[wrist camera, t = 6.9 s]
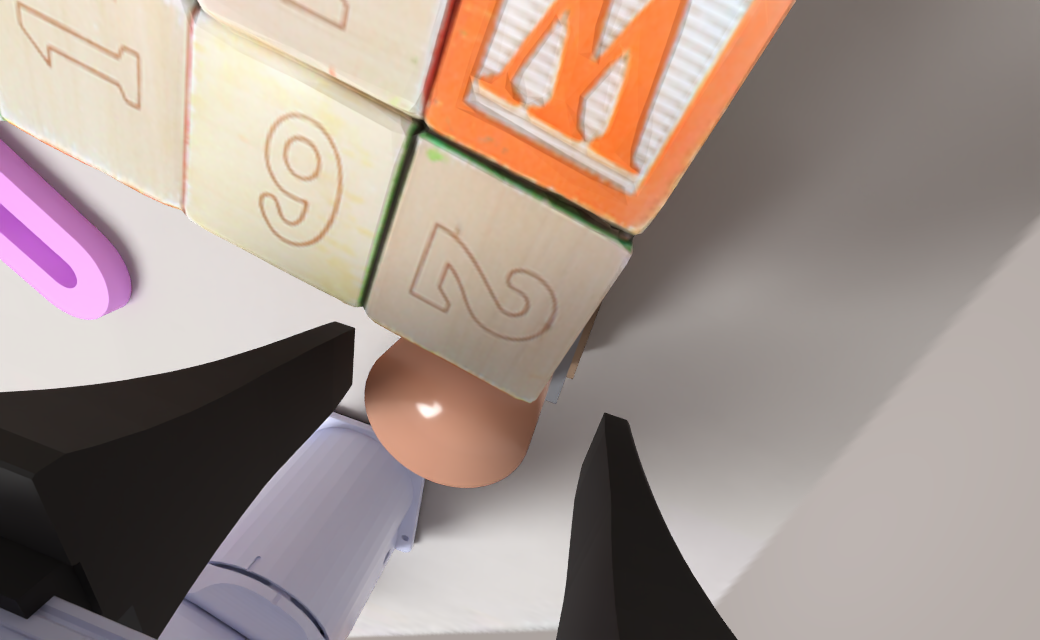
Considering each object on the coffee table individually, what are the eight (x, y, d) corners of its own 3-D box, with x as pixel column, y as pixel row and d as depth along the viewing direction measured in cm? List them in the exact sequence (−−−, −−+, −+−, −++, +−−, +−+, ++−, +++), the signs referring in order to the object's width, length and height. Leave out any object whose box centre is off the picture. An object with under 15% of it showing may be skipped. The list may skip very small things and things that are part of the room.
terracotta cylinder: (543, 412, 16) (511, 509, 12) (427, 375, 17) (359, 456, 13) (575, 300, 14) (549, 371, 10) (443, 262, 15) (370, 315, 11)
